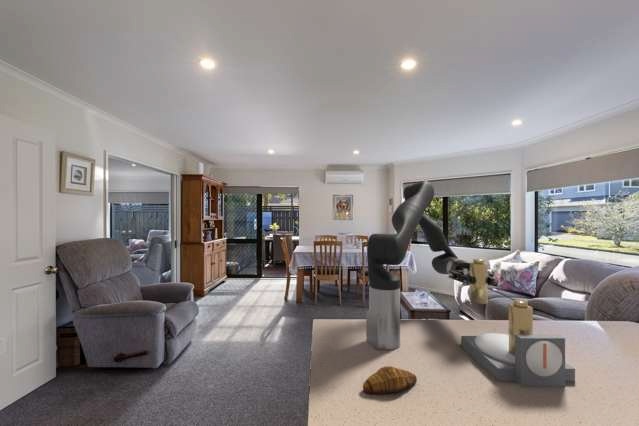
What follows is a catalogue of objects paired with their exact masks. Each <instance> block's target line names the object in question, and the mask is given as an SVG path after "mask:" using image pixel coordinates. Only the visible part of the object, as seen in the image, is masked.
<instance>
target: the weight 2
mask: <svg viewBox="0 0 639 426" xmlns="http://www.w3.org/2000/svg"><path fill="white" fill-rule="evenodd" d="M533 311H534V307H533V306H530V305H529V303H528V302H527V301H525V300H523V299H522V300H521V299H514V300H513V302H512V303H509V304H508V335H509V353H510V354H512V355H513V356H515V334H519V335H534V331H533V330H534V329H533V328H534V314H533V313H534V312H533Z"/></svg>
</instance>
